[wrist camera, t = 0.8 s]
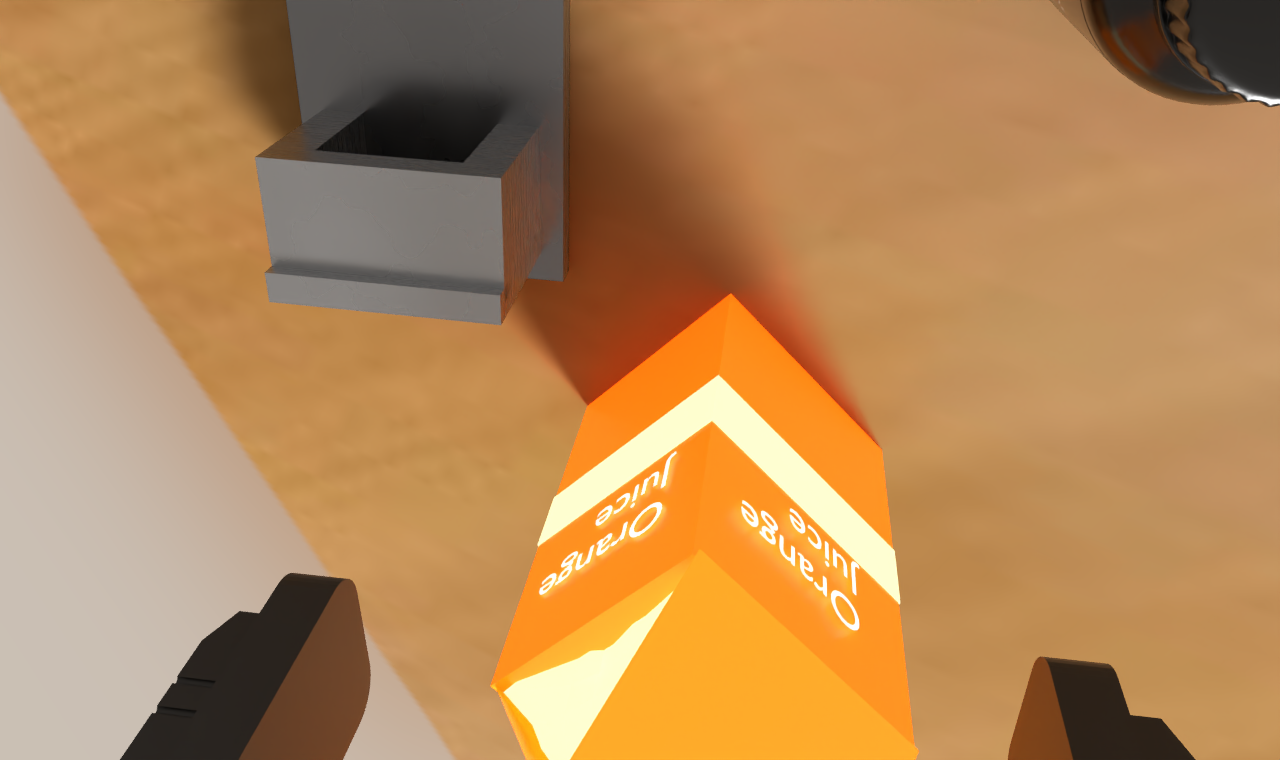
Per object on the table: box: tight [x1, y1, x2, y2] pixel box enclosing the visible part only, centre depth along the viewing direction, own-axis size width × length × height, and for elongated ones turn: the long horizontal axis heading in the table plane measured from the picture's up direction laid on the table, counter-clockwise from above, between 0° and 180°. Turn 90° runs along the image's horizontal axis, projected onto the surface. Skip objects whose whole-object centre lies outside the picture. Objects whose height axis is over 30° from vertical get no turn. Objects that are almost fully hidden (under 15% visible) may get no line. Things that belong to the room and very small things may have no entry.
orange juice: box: [491, 294, 919, 760], centre depth 32 cm, size 8×9×20 cm
